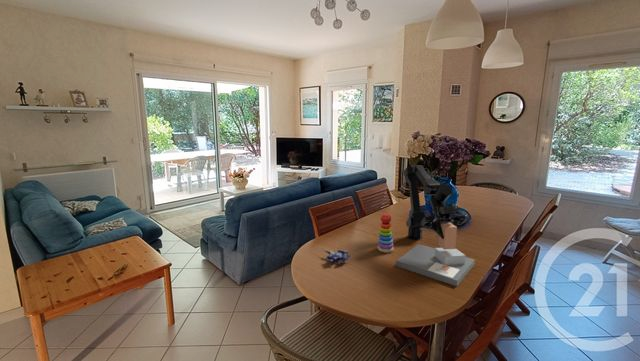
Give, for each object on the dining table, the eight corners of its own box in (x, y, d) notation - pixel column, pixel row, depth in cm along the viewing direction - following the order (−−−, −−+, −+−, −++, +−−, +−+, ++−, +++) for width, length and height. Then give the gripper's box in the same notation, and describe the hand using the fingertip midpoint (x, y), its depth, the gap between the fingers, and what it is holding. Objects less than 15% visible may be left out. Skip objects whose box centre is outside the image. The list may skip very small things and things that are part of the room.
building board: (395, 265, 134) (396, 260, 134) (418, 248, 152) (418, 243, 151) (456, 286, 117) (457, 280, 117) (474, 264, 135) (474, 258, 135)
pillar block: (438, 244, 135) (440, 221, 133) (449, 244, 135) (451, 221, 133) (444, 249, 130) (446, 225, 128) (455, 248, 131) (457, 225, 128)
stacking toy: (394, 247, 153) (395, 212, 150) (392, 254, 146) (394, 217, 142) (378, 245, 156) (379, 211, 152) (376, 252, 149) (377, 215, 145)
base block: (434, 256, 138) (435, 248, 137) (452, 254, 139) (453, 246, 138) (445, 265, 129) (446, 256, 128) (464, 263, 131) (465, 255, 130)
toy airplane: (320, 254, 146) (320, 247, 146) (348, 254, 147) (348, 247, 146) (320, 267, 134) (320, 259, 133) (352, 266, 134) (352, 259, 133)
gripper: (425, 198, 131) (435, 231, 123) (466, 197, 133) (478, 229, 125) (417, 210, 141) (425, 241, 132) (454, 209, 143) (466, 240, 134)
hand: (449, 238), depth 131 cm, fingers closed on pillar block, 5 cm apart
